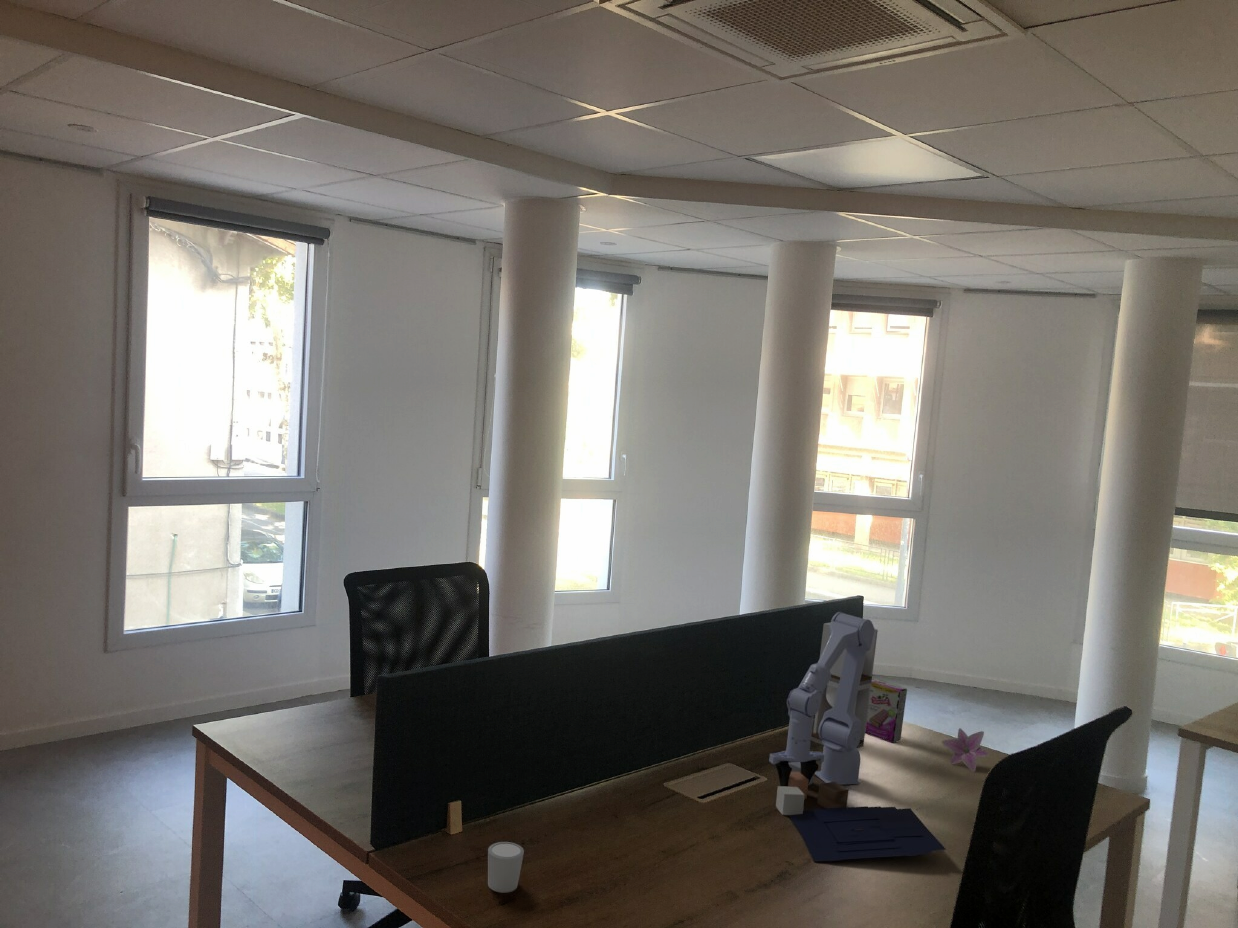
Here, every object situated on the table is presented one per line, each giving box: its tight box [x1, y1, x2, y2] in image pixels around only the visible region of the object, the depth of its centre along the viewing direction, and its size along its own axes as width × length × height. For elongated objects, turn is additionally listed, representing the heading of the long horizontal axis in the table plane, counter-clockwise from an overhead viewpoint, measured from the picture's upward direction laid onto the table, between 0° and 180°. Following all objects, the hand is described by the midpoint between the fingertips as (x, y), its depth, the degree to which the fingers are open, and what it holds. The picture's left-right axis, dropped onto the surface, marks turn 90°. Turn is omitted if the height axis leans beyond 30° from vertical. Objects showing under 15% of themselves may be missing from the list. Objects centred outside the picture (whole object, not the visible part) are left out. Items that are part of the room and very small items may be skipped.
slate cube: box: [788, 762, 815, 786], centre depth 248 cm, size 5×5×5 cm
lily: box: [941, 727, 990, 771], centre depth 274 cm, size 12×12×10 cm
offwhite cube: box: [775, 785, 805, 816], centre depth 229 cm, size 5×5×5 cm
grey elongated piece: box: [811, 621, 879, 749], centre depth 279 cm, size 11×11×35 cm
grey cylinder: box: [487, 841, 525, 894], centre depth 183 cm, size 7×7×7 cm
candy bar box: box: [865, 678, 908, 744], centre depth 290 cm, size 11×5×16 cm, turn 46°
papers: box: [787, 806, 947, 862], centre depth 218 cm, size 24×30×4 cm
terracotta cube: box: [788, 772, 809, 800], centre depth 239 cm, size 5×5×5 cm
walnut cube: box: [816, 781, 850, 809], centre depth 235 cm, size 5×5×5 cm
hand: (793, 789), depth 239 cm, fingers closed on terracotta cube, 5 cm apart
